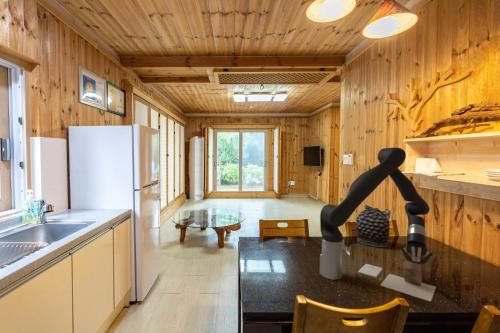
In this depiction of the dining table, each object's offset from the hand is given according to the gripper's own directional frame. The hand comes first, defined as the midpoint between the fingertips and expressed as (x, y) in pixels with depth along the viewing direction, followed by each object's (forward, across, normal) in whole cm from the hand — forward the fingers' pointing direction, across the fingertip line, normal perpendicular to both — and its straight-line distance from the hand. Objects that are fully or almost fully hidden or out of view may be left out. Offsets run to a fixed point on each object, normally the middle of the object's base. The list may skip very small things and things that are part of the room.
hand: (415, 271), depth 112 cm
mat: (+8, -3, +1) cm, 8 cm away
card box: (+3, -1, +3) cm, 5 cm away
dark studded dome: (-29, -23, +38) cm, 53 cm away
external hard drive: (+3, -18, +7) cm, 20 cm away
